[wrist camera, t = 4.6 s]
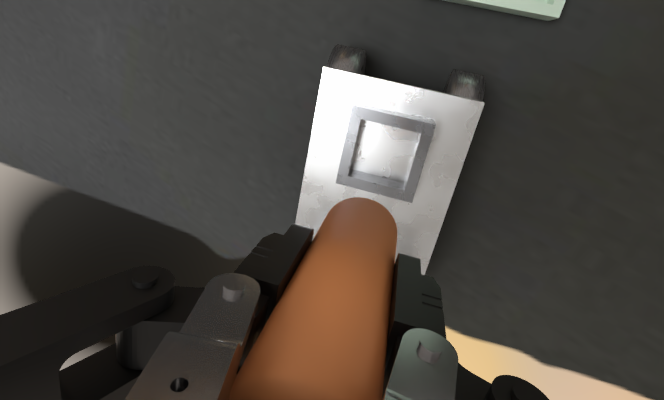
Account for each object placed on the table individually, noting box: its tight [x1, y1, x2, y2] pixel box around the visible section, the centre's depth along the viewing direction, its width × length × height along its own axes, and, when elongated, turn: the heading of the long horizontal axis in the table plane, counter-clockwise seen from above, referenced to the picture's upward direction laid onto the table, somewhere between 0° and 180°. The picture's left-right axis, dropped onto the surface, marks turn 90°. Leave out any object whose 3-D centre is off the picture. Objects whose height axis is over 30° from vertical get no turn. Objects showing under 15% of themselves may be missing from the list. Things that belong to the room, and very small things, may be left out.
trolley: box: [295, 44, 485, 275], centre depth 29 cm, size 22×12×22 cm, turn 169°
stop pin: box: [229, 197, 397, 400], centre depth 11 cm, size 3×3×9 cm
